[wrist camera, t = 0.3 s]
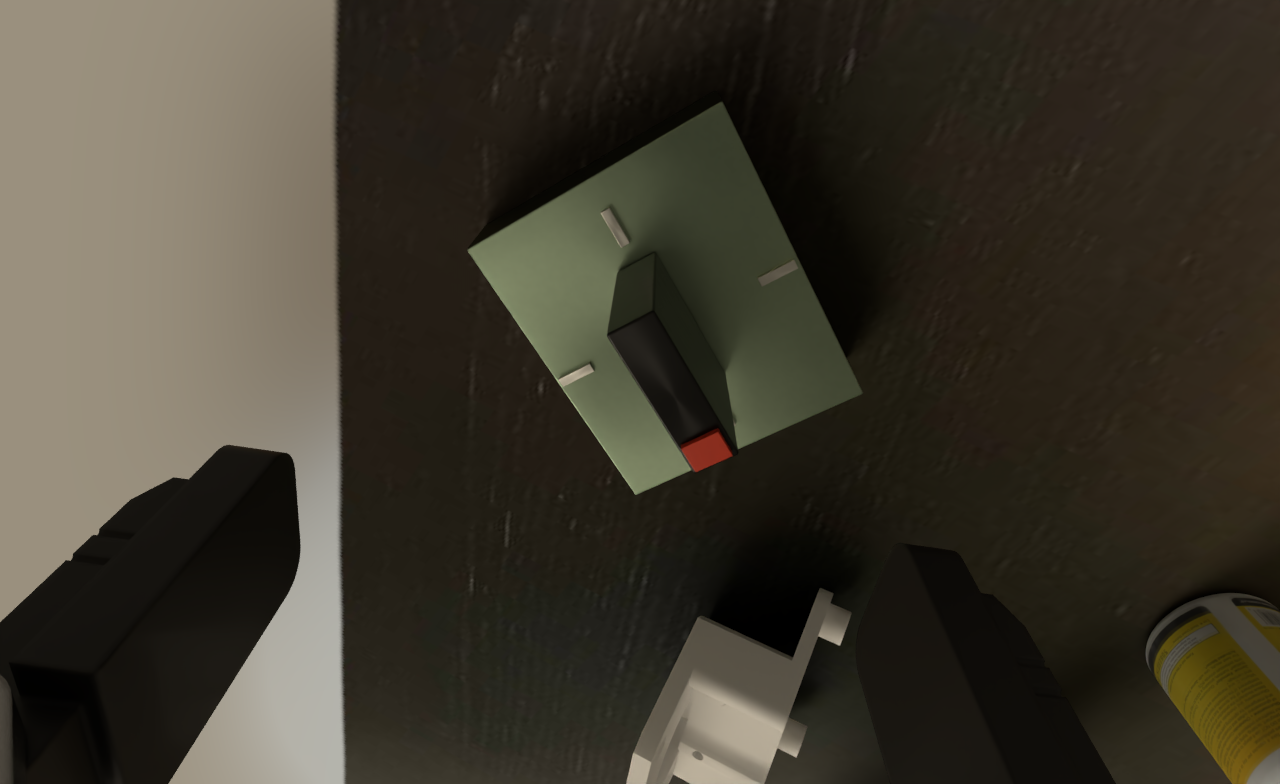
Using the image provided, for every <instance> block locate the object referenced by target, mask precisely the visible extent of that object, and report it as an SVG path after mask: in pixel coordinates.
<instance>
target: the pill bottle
mask: <svg viewBox="0 0 1280 784" xmlns="http://www.w3.org/2000/svg"><path fill="white" fill-rule="evenodd" d="M1146 660H1147V664H1148V666H1149V669H1150V670H1151V672H1152V674H1153V675H1154V677H1155V678H1156V679H1157V681H1158V682H1159V684H1160V685H1161V686H1162V688H1163V689H1164V691H1165V692H1166V693H1167V695H1168V696H1169V698H1170V699H1171V700H1172V702H1173V703H1174V704H1175V706H1176V707H1177V708H1178V710H1179V711H1180V713H1181V714H1182V715H1183V717H1184V718H1185V719H1186V721H1187V722H1188V723H1189V725H1190V726H1191V728H1192V729H1193V730H1194V732H1195V733H1196V735H1197V736H1198V737H1199V739H1200V740H1201V741H1202V743H1203V744H1204V745H1205V747H1206V748H1207V749H1208V751H1209V752H1210V754H1211V755H1212V756H1213V758H1214V759H1215V760H1216V762H1217V763H1218V765H1219V766H1220V767H1221V769H1222V770H1223V771H1224V773H1225V774H1226V776H1227V777H1228V778H1229V780H1230V781H1231V782H1232V784H1280V610H1279V609H1277V608H1276V607H1275V606H1274V605H1272V604H1271V603H1269V602H1267V601H1265V600H1263V599H1261V598H1258V597H1255V596H1251V595H1247V594H1241V593H1221V594H1214V595H1209V596H1205V597H1201V598H1198V599H1195V600H1193V601H1190V602H1188V603H1186V604H1184V605H1182V606H1180V607H1178V608H1177V609H1175V610H1173V611H1172V612H1171V613H1169V614H1168V615H1167V616H1165V617H1164V618H1163V619H1162V620H1161V621H1160V622H1159V623H1158V624H1157V625H1156V627H1155V628H1154V629H1153V631H1152V632H1151V634H1150V636H1149V638H1148V641H1147V645H1146Z"/></svg>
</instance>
